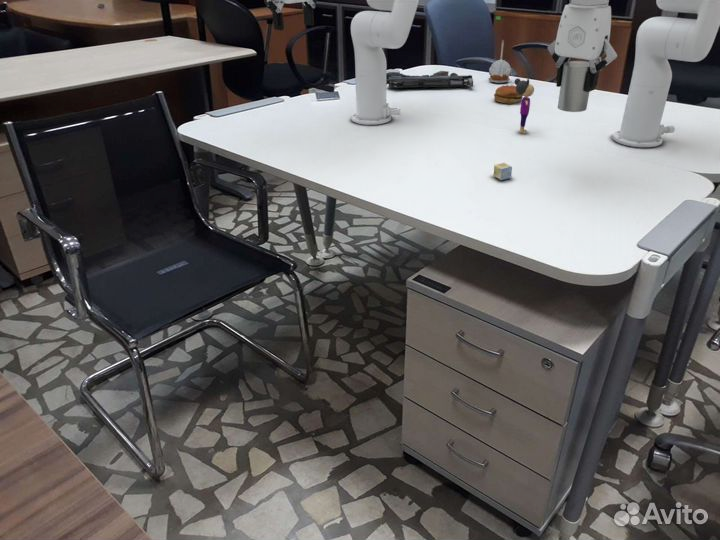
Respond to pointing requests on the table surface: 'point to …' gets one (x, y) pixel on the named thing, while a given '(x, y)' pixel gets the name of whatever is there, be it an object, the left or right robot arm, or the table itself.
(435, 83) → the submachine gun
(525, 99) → the toy
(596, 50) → the right robot arm
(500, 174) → the alphabet block
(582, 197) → the table surface
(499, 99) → the burger
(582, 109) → the can
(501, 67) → the candy apple
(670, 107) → the table surface
